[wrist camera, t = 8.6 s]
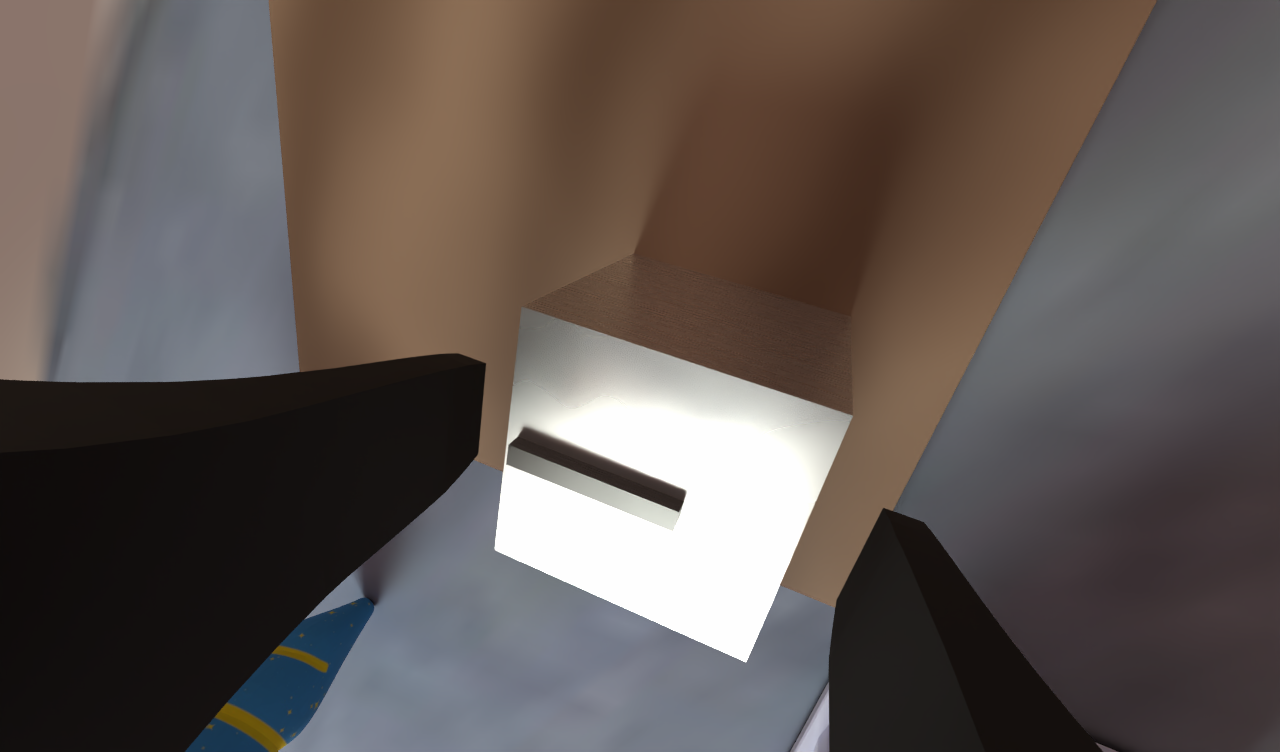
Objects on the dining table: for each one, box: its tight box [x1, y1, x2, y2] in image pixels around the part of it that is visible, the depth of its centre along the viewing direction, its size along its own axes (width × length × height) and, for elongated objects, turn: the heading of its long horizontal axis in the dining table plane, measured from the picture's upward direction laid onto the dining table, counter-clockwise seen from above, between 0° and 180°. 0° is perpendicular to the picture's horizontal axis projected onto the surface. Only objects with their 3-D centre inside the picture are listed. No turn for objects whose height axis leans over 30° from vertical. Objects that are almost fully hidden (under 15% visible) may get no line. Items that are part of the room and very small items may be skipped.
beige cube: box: [495, 253, 853, 662], centre depth 11 cm, size 5×5×5 cm
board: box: [269, 0, 1157, 607], centre depth 12 cm, size 18×16×6 cm
